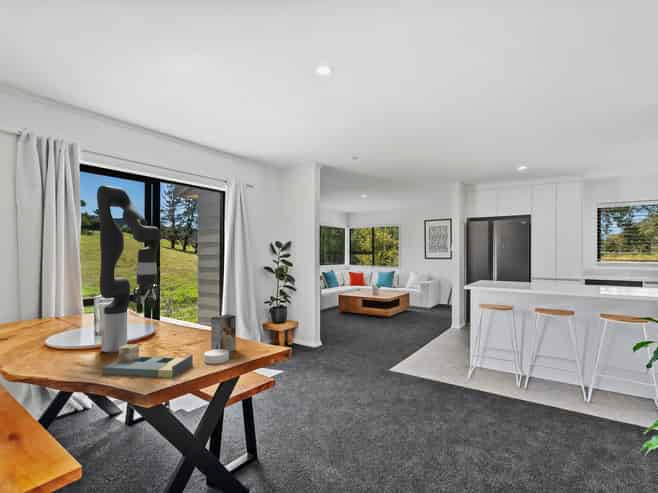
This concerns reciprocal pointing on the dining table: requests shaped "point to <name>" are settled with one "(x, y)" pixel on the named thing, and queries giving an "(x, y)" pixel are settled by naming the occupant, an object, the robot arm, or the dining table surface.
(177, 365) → the box
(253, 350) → the dining table surface
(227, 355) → the white ridged round container
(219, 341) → the coffee box
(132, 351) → the block
